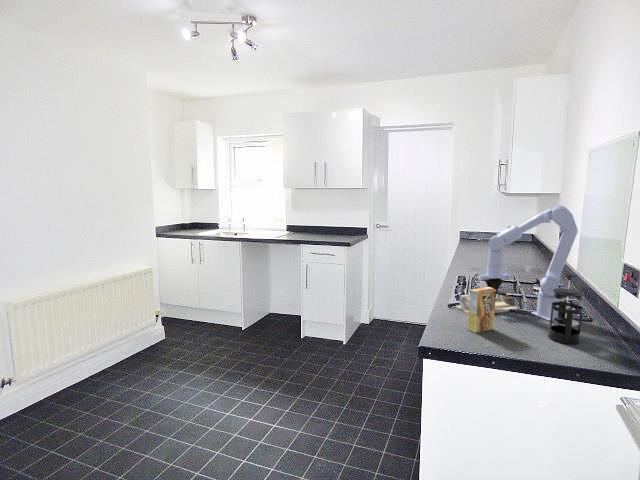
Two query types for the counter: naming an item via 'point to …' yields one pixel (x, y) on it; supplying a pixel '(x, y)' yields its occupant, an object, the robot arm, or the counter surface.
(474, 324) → the candy box
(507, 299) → the cord rig
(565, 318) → the french press
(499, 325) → the counter surface
